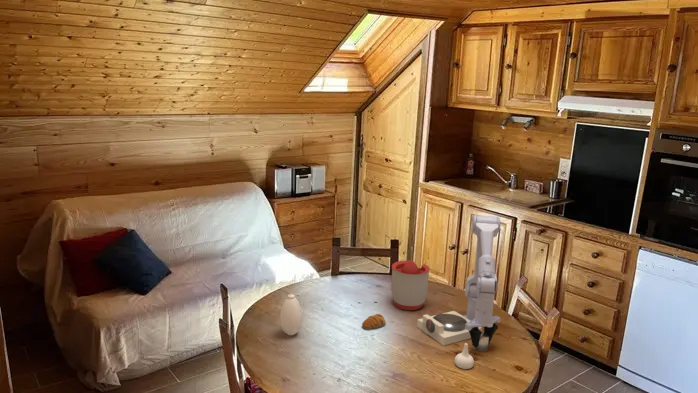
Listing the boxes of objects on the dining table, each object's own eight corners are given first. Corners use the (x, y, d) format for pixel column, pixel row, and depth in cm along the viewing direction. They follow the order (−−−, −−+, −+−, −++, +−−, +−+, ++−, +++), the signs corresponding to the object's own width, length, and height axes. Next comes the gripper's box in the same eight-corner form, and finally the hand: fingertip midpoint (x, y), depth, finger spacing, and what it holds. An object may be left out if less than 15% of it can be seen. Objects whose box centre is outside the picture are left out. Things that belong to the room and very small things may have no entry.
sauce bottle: (305, 332, 193) (306, 286, 189) (294, 341, 186) (295, 294, 182) (287, 327, 196) (287, 282, 192) (276, 336, 189) (276, 290, 185)
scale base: (453, 317, 209) (454, 302, 207) (481, 335, 195) (483, 319, 194) (416, 326, 200) (417, 311, 199) (442, 345, 187) (444, 329, 185)
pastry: (369, 333, 194) (370, 323, 194) (357, 326, 199) (357, 317, 198) (387, 325, 201) (387, 316, 200) (374, 319, 205) (375, 310, 205)
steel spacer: (480, 343, 189) (482, 330, 188) (490, 349, 185) (492, 336, 184) (470, 346, 187) (471, 333, 186) (480, 352, 183) (481, 339, 182)
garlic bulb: (461, 372, 171) (464, 352, 168) (450, 361, 176) (453, 341, 174) (476, 369, 173) (480, 348, 171) (465, 358, 179) (469, 338, 176)
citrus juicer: (434, 301, 223) (438, 257, 219) (417, 316, 209) (420, 269, 204) (401, 293, 231) (404, 250, 227) (382, 306, 217) (385, 261, 212)
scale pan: (451, 313, 206) (451, 311, 206) (474, 327, 195) (474, 325, 194) (425, 319, 200) (425, 317, 199) (447, 334, 188) (447, 332, 188)
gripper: (476, 317, 176) (473, 354, 179) (507, 309, 183) (504, 345, 186) (462, 309, 182) (459, 344, 185) (493, 301, 189) (489, 336, 192)
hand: (480, 344), depth 186 cm, fingers closed on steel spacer, 5 cm apart
